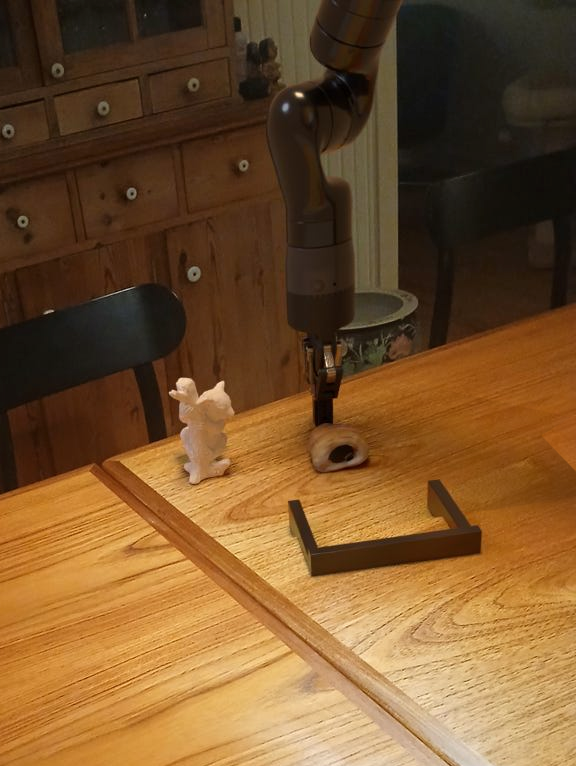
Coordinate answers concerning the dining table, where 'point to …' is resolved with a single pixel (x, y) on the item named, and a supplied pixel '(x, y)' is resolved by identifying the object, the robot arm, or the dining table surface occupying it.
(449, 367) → the dining table surface
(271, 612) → the dining table surface
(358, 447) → the pastry
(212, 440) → the white animal figurine
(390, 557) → the frame
